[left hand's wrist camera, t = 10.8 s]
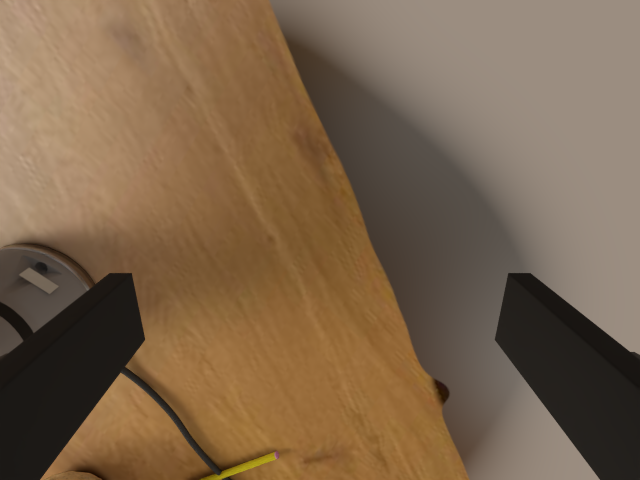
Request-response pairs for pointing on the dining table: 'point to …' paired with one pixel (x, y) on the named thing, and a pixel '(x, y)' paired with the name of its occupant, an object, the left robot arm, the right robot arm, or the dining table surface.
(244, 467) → the pencil
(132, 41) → the dining table surface
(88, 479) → the bowl
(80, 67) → the dining table surface
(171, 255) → the dining table surface
